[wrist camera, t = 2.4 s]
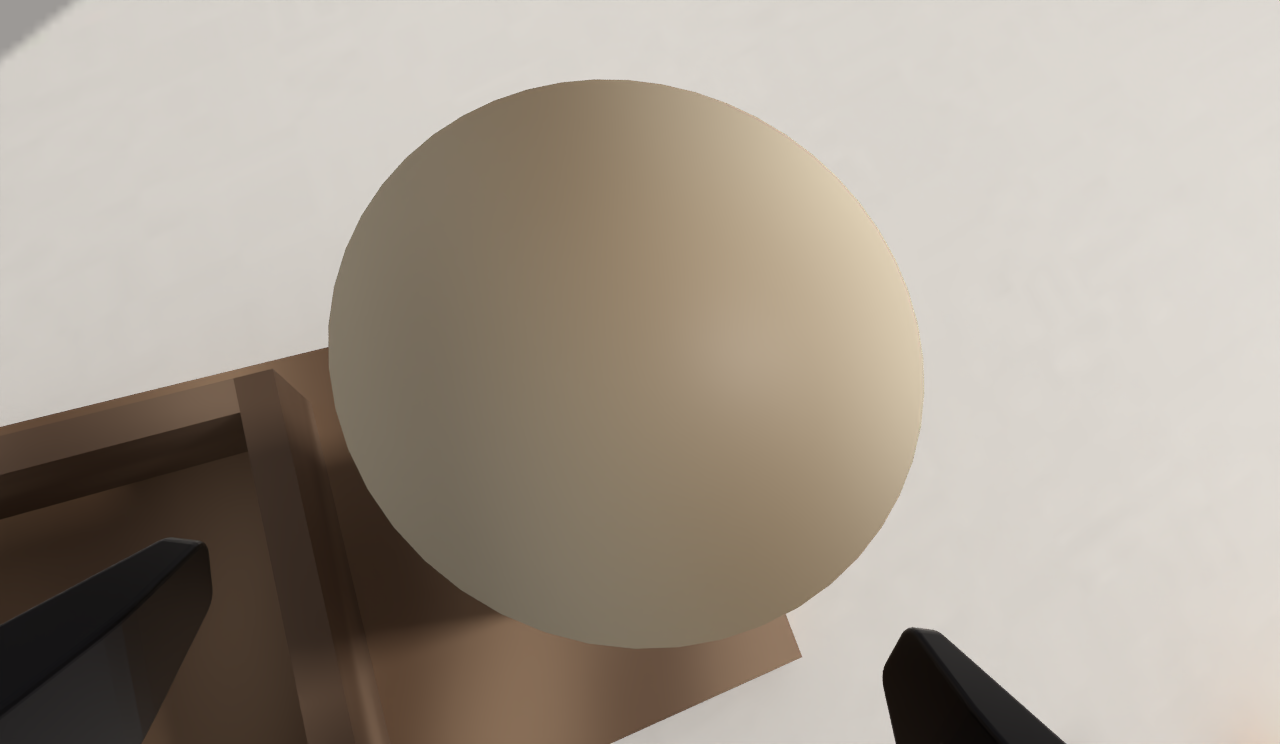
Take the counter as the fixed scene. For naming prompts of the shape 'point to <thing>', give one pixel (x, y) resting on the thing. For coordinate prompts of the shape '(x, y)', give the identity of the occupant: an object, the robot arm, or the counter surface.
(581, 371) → the post
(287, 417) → the jig board
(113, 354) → the counter surface
